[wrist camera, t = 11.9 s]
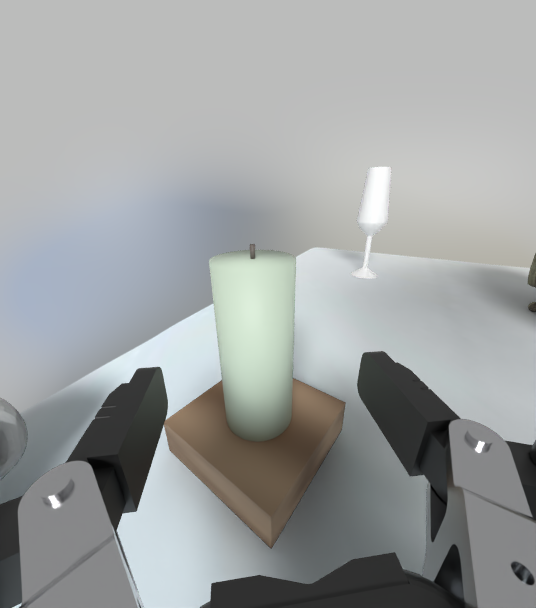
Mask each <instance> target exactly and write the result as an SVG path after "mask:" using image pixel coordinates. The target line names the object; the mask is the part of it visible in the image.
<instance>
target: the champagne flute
mask: <svg viewBox="0 0 536 608" xmlns="http://www.w3.org/2000/svg"><path fill="white" fill-rule="evenodd" d="M390 182H391V167H373V168H368V172H367V177H366V181H365V186H364V190H363V195H362V200H361V204H360V209H359V213H358V218H357V223H358V226H359V227H360V229H361V230H362V231H363V232H364V233H365V234H366V235H367V241H366V247H365V254H364V261H363V267H362V268H360V269H358V270H355V271H353V272H351V273H350V274H351V275H352V276H355V277H359V278H376V277H378V275H377V274H376V273H374V272H373V271H372V270H370V269H369V268H368V261H369V255H370V248H371V241H372V236H373V235H374V234H376V233H377V232H379V231H380V230H381V229H382V228H383V227H384V226H385V225H386V223H387V221H388V209H389V196H390Z"/></svg>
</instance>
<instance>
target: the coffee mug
mask: <svg viewBox="0 0 536 608" xmlns="http://www.w3.org/2000/svg"><path fill="white" fill-rule="evenodd" d="M26 444H27V429H26V424H25V422H24V420H23V419H22V417H21V415H20V414H19V412H18V411H17V410H16V409H15V408H14V407H13V406H12V405H11V404H10V403H8V402H7V401H5V400H4V399H2V398H0V480H1V479H2V478H3V477H4V476H5V475H6V474H7V473H8V472H9V471H10V470H11V469H12V468H13V467H14V466H15V465H16V464H17V462H18V461H19V459H20V458H21V456H22V455H23V453H24V451H25V449H26Z"/></svg>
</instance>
